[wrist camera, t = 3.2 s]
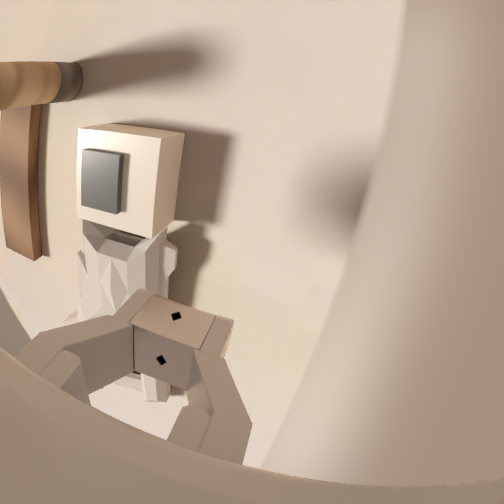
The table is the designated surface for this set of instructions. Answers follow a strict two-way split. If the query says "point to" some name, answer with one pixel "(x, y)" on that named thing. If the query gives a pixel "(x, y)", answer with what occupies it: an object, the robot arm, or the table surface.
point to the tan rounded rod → (38, 83)
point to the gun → (123, 283)
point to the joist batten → (20, 179)
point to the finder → (128, 177)
